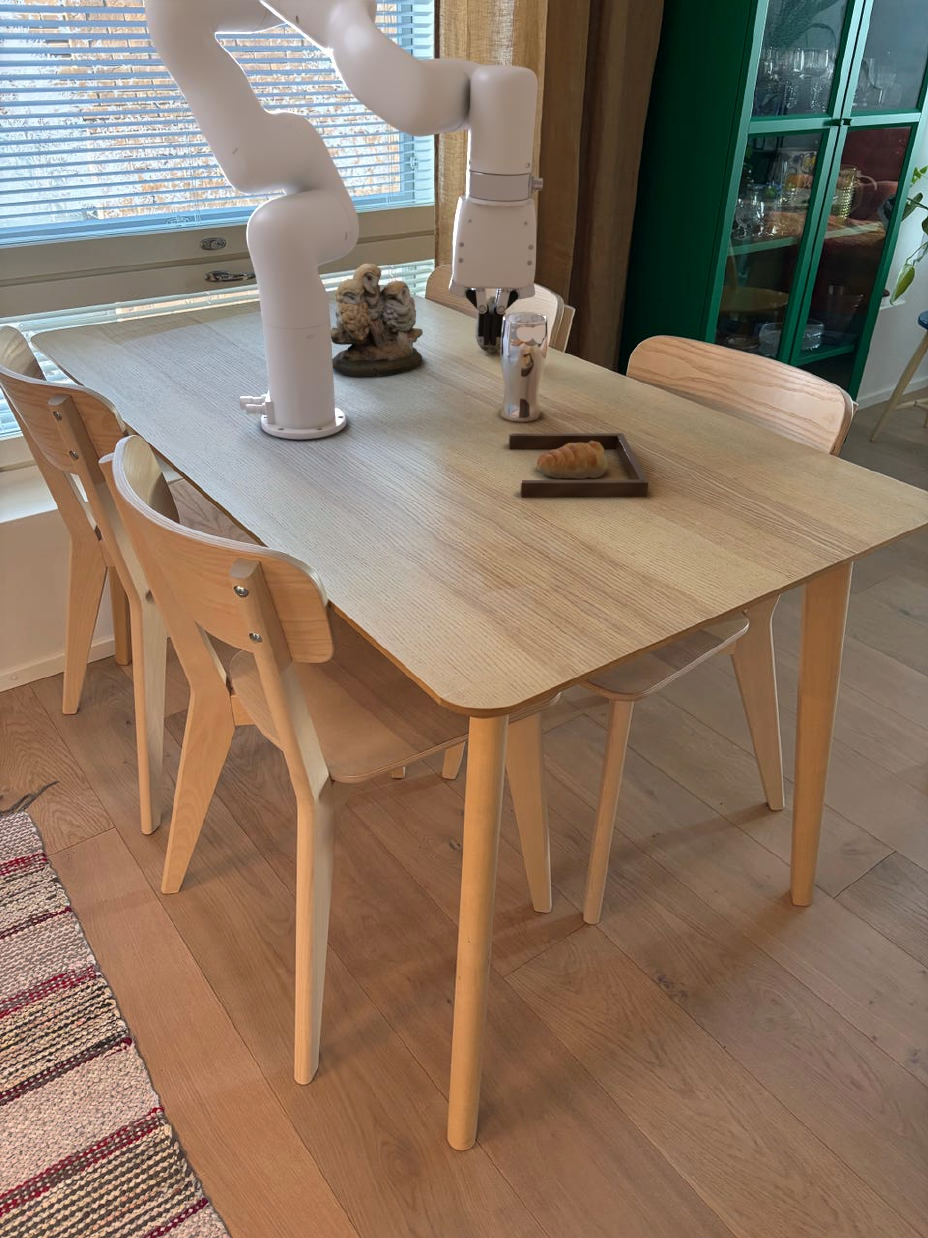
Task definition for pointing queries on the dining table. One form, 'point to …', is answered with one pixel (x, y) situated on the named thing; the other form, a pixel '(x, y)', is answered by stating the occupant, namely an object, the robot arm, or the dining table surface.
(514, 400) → the beer glass
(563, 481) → the corral
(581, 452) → the pastry
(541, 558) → the dining table surface
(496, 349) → the decorative egg
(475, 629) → the dining table surface
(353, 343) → the owl figurine
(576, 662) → the dining table surface
